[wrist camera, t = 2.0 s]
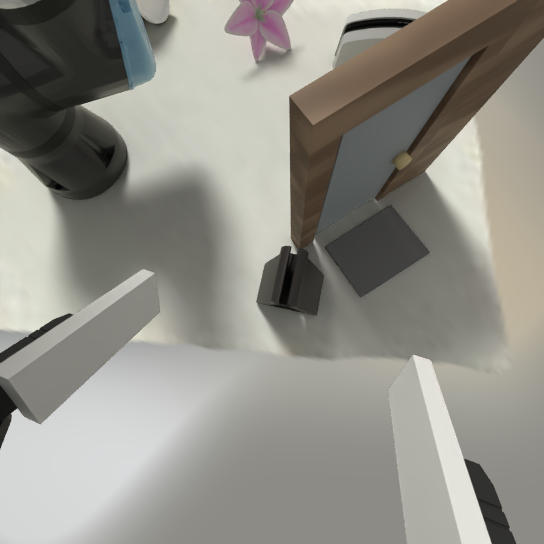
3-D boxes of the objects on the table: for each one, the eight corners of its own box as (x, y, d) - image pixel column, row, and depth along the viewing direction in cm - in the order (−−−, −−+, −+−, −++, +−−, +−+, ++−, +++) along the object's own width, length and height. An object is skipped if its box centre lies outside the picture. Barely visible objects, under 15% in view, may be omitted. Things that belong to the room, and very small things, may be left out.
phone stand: (323, 276, 36) (338, 255, 25) (316, 315, 35) (328, 313, 24) (265, 264, 38) (253, 238, 26) (256, 302, 36) (239, 294, 25)
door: (320, 241, 37) (355, 141, 16) (310, 227, 37) (332, 115, 17) (380, 202, 37) (488, 59, 17) (370, 189, 38) (462, 35, 17)
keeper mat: (325, 247, 37) (325, 246, 37) (390, 206, 38) (391, 205, 37) (360, 297, 35) (361, 296, 35) (428, 253, 36) (430, 252, 36)
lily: (223, 64, 47) (224, 28, 38) (225, -11, 44) (227, -68, 35) (283, 77, 50) (298, 47, 41) (288, 8, 47) (305, -41, 38)
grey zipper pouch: (433, 56, 42) (470, 2, 33) (425, 86, 43) (460, 42, 33) (336, 48, 44) (344, -6, 34) (330, 77, 45) (336, 32, 35)
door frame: (290, 237, 38) (289, 95, 14) (415, 159, 39) (613, -100, 15) (299, 250, 37) (313, 125, 14) (425, 170, 38) (647, -79, 14)
